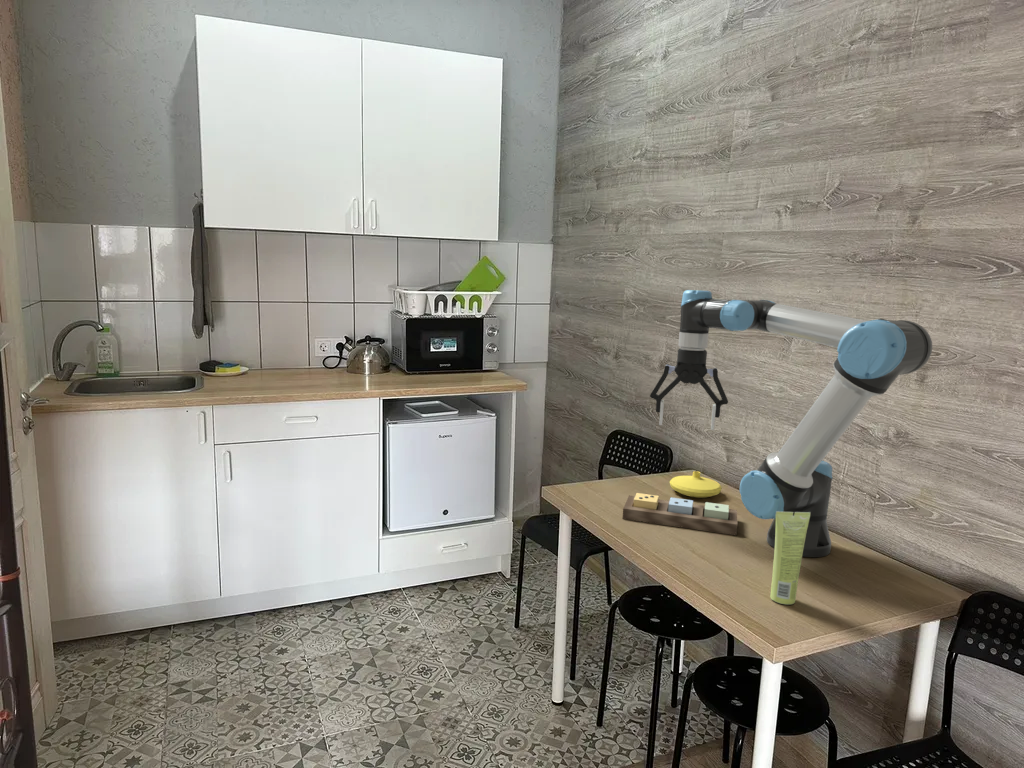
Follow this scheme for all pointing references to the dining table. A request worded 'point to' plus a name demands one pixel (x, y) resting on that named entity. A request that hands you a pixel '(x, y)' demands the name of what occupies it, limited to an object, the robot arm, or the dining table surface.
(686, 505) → the tile
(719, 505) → the tile
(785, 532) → the tube
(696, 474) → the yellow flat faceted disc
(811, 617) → the dining table surface
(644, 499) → the tile
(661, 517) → the board
